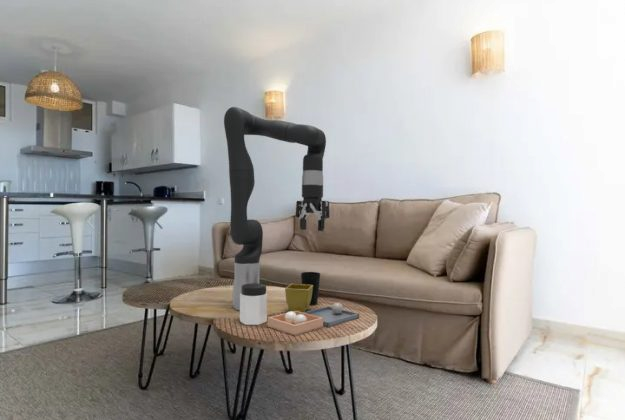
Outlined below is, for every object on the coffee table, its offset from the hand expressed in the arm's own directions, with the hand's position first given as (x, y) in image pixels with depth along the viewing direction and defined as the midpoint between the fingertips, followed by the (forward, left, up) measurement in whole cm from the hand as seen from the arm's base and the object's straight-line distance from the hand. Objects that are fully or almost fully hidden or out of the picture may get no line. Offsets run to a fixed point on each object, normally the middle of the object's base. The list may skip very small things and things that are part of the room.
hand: (311, 230), depth 139 cm
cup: (-13, +13, -30) cm, 35 cm away
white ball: (+3, -13, -30) cm, 33 cm away
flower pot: (-8, +2, -30) cm, 31 cm away
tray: (+6, +2, -30) cm, 31 cm away
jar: (-8, -19, -30) cm, 37 cm away
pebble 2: (+6, +7, -30) cm, 31 cm away
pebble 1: (+8, -13, -30) cm, 33 cm away
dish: (+6, -13, -30) cm, 33 cm away
